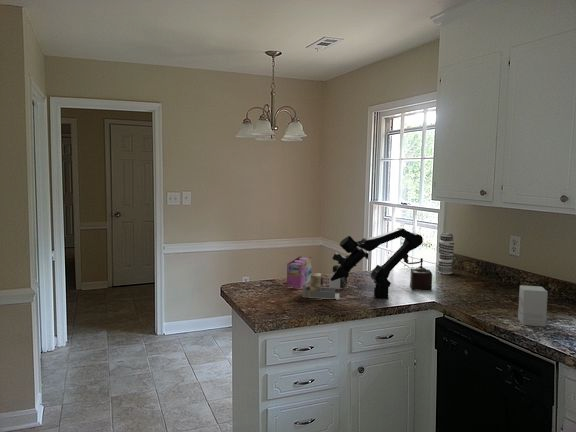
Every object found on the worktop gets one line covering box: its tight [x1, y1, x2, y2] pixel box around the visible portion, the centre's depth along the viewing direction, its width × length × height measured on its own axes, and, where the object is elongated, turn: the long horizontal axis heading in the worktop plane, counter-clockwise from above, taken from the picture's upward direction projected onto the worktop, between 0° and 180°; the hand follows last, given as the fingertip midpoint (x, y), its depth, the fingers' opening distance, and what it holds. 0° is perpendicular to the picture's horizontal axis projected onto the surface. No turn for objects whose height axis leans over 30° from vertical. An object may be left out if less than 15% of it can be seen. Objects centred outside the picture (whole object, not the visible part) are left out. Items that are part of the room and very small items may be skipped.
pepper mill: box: [402, 253, 433, 291], centre depth 253 cm, size 16×11×18 cm
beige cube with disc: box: [309, 272, 324, 291], centre depth 233 cm, size 6×6×10 cm
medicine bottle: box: [328, 264, 348, 290], centre depth 251 cm, size 7×7×12 cm
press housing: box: [301, 281, 340, 301], centre depth 233 cm, size 18×10×7 cm, turn 83°
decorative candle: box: [437, 232, 455, 275], centre depth 291 cm, size 9×9×25 cm
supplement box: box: [517, 285, 549, 328], centre depth 196 cm, size 9×9×15 cm
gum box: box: [286, 256, 313, 288], centre depth 258 cm, size 24×8×14 cm, turn 161°
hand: (331, 280), depth 232 cm, fingers closed
